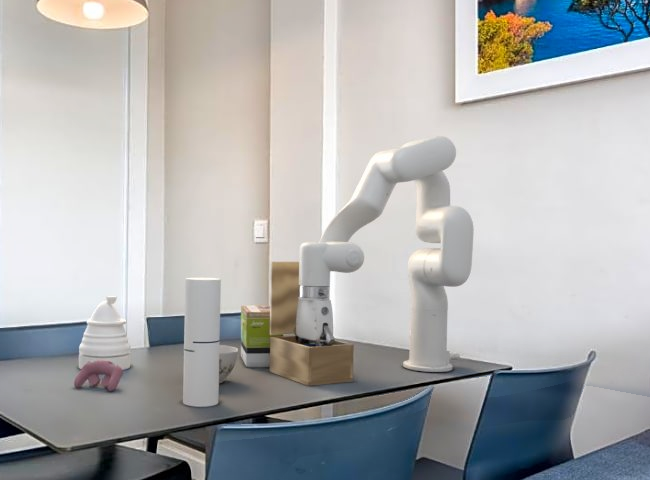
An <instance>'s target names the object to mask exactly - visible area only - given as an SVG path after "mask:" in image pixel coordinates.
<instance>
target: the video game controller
mask: <svg viewBox="0 0 650 480" xmlns="http://www.w3.org/2000/svg"><path fill="white" fill-rule="evenodd" d="M123 374H124V370H122V368H121V367H119V366H118V365H117V364H115V363H112V362H110V361H104V360H97V361H92V362H91V361H88V362H87V364H85V365H84V366H83V367H82V369H80V370H79V372H78V373H77V375H76V377H75V378H74V381H73V386H74V388H76V389H79V388H80V387H82V386H83V385H84V384H85V383H86V382H87V380H88V384H89V385H90V386H92V387H97V386H99V385H100V384H101V386H102V387H104V388H106V389H107V390H108V392H113V391H114V390H115V389H116V388H117V387H118V385H119V383H120V380H121V378H122V377H123ZM100 375H104V376H103V377H102V378H100Z"/></svg>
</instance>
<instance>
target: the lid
mask: <svg viewBox="0 0 650 480" xmlns="http://www.w3.org/2000/svg"><path fill="white" fill-rule="evenodd" d="M269 267H270V269H269V272H270V274H269V278H270V279H269V306H270V335H283V336H286V335H295V334H294V331H293V330H294V328H295V327H296V317H297V307H298V301H299V299H298V297H299V261H270V266H269Z"/></svg>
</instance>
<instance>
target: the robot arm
mask: <svg viewBox="0 0 650 480" xmlns="http://www.w3.org/2000/svg"><path fill="white" fill-rule="evenodd" d="M456 156H457V149H456V145H455V144H454V142H453V141H452V140H451V139H450V138H448V137H446V136H442V135H439V136H438V135H437V136H432V137H426V138H420V139H416V140H415V139H414V140H411V141H408V142H406V143H404V144H402V145H401V147H397V148H390V149H386V150H380V151H378V152H376V153H375V154H373V156H372V157H371V158H370V159H369V161H368V163H367V165H366V168H365V169H364V172H363V174H362V176H361V178H360V180H359V182H358V184H357V186H356V188H355V189H354V192H353V194H352V196H351V198H350V199H349V201H348V202H347V203H346V204H345V205H344V206H342V208H341V209H339V211H338V213H337V214H335V215H334V217H333V218H332V219H331V220H330V221H329V223H328V224H327V225H326V227H325V229H324V230H323V232H322V235H321V237H320V239H319V241H318V242H317V241H305V242H302V243H301V244H300V246H299V254H298V255H299V256H298V257H299V258H298V262H299V297H298V299H299V301H298V307H297V317H296V327H295V328H294V330H293V331H294V334H293V335H294V336H295V339H296V341H297V343H298V344H305V343H309V342H310V341H314V342H315V343H316V346H321V344H320V343H323V345H322V346H330V345H332V344H333V342H334V340H336V338H335V336H334V313H333V306H332V300H331V272H335V273H345V274H351V273H355V272H356V271H358V270H360V269H361V267H362V266H363V264H364V263H365V254H364V251H363V249H362V248H361V246H359V245H358V244H356V243H354V242H351V241H350V240H351V238H352V237H353V236H354V235H355V233H356V232H358V231H359V230H360V229H362V228H364V227H365V226H367V225H369V224H370V223H372V222H374V221H375V220H376V219H378V218H379V217H381V215H382V214H383V212H384V210H385V208H386V206H387V203H388V201H389V200H390V197H391V195H392V193H393V191H394V189H395V187H396V185H397V184H399V183H408V182H414V185H415V189H416V209H415V234H416V236H417V239H419V240H420V241H422V242H424V243H428V244H429V243H430V244H440V248H436V247H427V248H426V247H425V248H424V247H423V248H421V249H417V250H415V251H414V252H413V253H412V254H411V255H410V256H409V259H408V261H407V276H408V277H407V278H408V281H409V290H410V292H409V293H410V309H409V315H410V316H409V346H408V347H409V351H408V352H409V354H408V359H407V360H404V361H403V362H402V366H403V368H405V369H407V370H411V371H416V372H423V373H425V372H426V373H448V372H450V371H453V365H452V363H450V362H451V361H452V360H459V359H460V355H461V354H460V353H459V352H458V351H455V352H454V351H453V352H450V350H447V348H448V347H447V346H448V345H447V344H448V310H449V301H448V295H447V292H446V289H445V287H451V288H452V287H454V288H455V287H461V286H462V285H464V284H465V283H466V282H467V281H468V279H469V277H470V274H471V271H472V264H473V250H474V249H473V247H474V221H473V219H472V217H471V215H470V213H469V211H468V210H467V209H465V208H463V207H461V206H457V205H451V186H450V182H449V180H448V177H447V176H446V174H445V172H444V171H445V170H447V169H448V168H450V167H451V166H452V165H453V163H454V162H455V160H456Z"/></svg>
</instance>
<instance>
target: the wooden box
mask: <svg viewBox="0 0 650 480" xmlns="http://www.w3.org/2000/svg"><path fill="white" fill-rule="evenodd" d="M309 343H315V342H314V341H310V342H309ZM315 344H316V343H315ZM320 344H323V343H320ZM354 349H355V347H354V344H353V343H350V342H345V341H341V340H338V339H337V340H336V339H335V340H334V342H333V344H332V345H330V346H315V347H309V346H305V345H301V344H298V343H297V341H296V339H295V335H283V336H278V337H270V367H269V372H270V373H272V374H275V375H277V376H280V377H283V378H285V379H287V380H290V381H294V382H296V383H299V384H302V385H304V386H308V387H311V386H323V385H330V384H331V385H332V384H341V383H343V384H344V383H351V382H352V383H353V382H354Z"/></svg>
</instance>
